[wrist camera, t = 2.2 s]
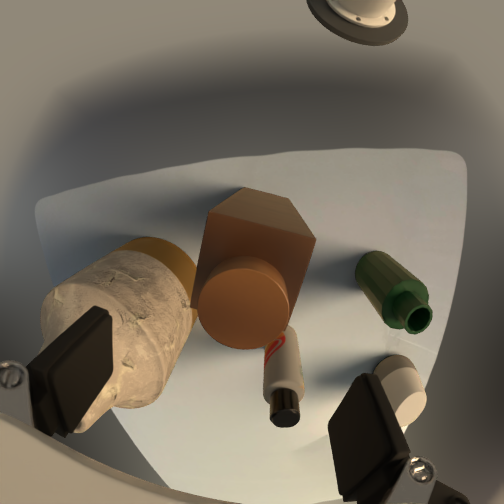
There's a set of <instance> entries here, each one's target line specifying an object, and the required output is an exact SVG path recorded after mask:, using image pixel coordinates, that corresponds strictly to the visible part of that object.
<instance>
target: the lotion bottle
mask: <svg viewBox="0 0 504 504" xmlns="http://www.w3.org/2000/svg"><path fill="white" fill-rule="evenodd" d="M304 393H305V391H304V382H303V374H302V367H301V360H300V353H299V346H298V339H297V334H296V332H295V330H294V329H293V328H292V327H290V326H288V325H287V328H286V331H285V332H284V331H283V332H282V333H281V334H280V335H279V336H278V337H277V338H276V339H275V340H274V341H272V342H271V343H269V344H267V345H265V356H264V383H263V396H264V399H265V400H266V402H267V403H269V404H270V420H271V422H272V423H273V424H274V425H275V426H277V427H281V428H284V427H292V426H294V425H296V424H297V423H298V422H299V420H300V409H299V402H300V401H301V400H302V399H303V397H304Z"/></svg>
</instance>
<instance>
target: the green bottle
mask: <svg viewBox="0 0 504 504" xmlns="http://www.w3.org/2000/svg"><path fill="white" fill-rule="evenodd" d="M355 277H356V281H357V283H358V285H359V287H360V288H361V289H362V291H363V292H364V294H365V295H366V296H367V298H368V299H369V301H370V302H371V304H372V305H373V306H374V308H375V309H376V311H377V312H378V314H379V315H380V317H381V318H382V320H383V321H384V323H385V324H387V325H388V326H389V327H390V328H394V329H403V328H405V330H406V331H407V332H408V333H409V334H418V333H420V332H423V331H424V330H425V329H426V328H427V327H428V326H429V324H430V322H431V320H432V309H431V308H430V306H429V305H428V299H429V294H428V291H427V287H426V286H425V285H424V284H423V283H422V282H421V281H420V280H419V279H418V278H416V277H415V276H414V275H413V274H411V273H410V272H409V271H408V270H407V269H405V268H404V267H403V266H402V265H400V264H399V263H398V262H397V261H395V260H394V259H393V258H392V257H390V256H389V255H388V254H386V253H384V252H381V251H373V252H370V253H368V254H366V255H365V256H363V257H362V258H361V260H360V261H359V263H358V264H357V267H356V271H355Z"/></svg>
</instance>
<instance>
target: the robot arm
mask: <svg viewBox="0 0 504 504" xmlns="http://www.w3.org/2000/svg"><path fill="white" fill-rule="evenodd" d="M326 1H327V3H328V4H329V6H330V7H331V8H332V9H333V10H334V11H335V12H336V13H337V14H338V15H339V16H341V17H342V18H344V19H346V20H347V21H349V22H351V23H354V24H356V25H359V26H363V27H369V28H378V27H383V26H385V25H387V24H389V23H390V22H391V21H392V19H393V18H394V16H395V5H394V2H395V1H396V0H326ZM112 324H113V319H112V316H111V315H109V311H108V310H106V309H104V308H101V307H99V306H96V305H94V306H92V307H91V308H90V309H89V310H88V311H87V312H85V313H84V314H83V315H82V316H81V317H80V318H79V319H77V320H76V321H75V322H74V323H73V324H72V325H71V326H70V327H68V328H67V329H66V330H65V331H64V332H63V333H61V334H60V335H59V336H58V337H57V338H56V339H55V340H54V341H53V342H52V343H51V344H49V345H48V346H47V347H46V348H45V349H44V350H43V351H42V352H41V353H40V354H39V355H38V356H37V357H36V358H35V359H33V361H31V362H30V363H29V364H28V365H27V366H26V367H25V366H24V365H22V364H21V363H19V362H17V361H11V360H10V361H4V362H1V363H0V504H240V503H233V502H227V501H222V500H216V499H211V498H206V497H202V496H197V495H193V494H189V493H185V492H181V491H177V490H174V489H170V488H167V487H164V486H160V485H157V484H154V483H151V482H148V481H145V480H142V479H139V478H136V477H133V476H131V475H128V474H126V473H123V472H121V471H118V470H116V469H113V468H111V467H109V466H107V465H104V464H102V463H100V462H98V461H95V460H93V459H91V458H89V457H87V456H85V455H83V454H81V453H79V452H77V451H75V450H73V449H71V448H69V447H67V446H66V445H64V444H62V443H60V442H58V441H56V440H54V439H53V438H51V436H52V435H53V434H54V433H57V434H59V435H60V436H62V437H64V438H65V437H66V436H67V434H68V433H73V432H74V431H75V429H76V428H77V426H78V425H79V423H80V422H81V420H82V418H83V417H84V415H85V414H86V412H87V411H88V409H89V408H90V406H91V405H92V404H93V402H94V401H95V399H96V398H97V396H98V395H99V393H100V392H101V390H102V389H103V387H104V386H105V384H106V383H107V382H108V380H109V379H110V377H111V376H112V373H113V331H112ZM328 432H329V437H330V443H331V449H332V454H333V460H334V466H335V472H336V478H337V484H338V491H339V494H340V495H343V501H344V502H351V501H357V504H470V502H469V500H468V498H467V497H466V496H465V495H463V494H462V493H460V492H458V491H456V490H454V489H452V488H450V487H448V486H446V485H445V484H443V483H441V482H439V481H437V480H436V479H437V469H436V467H435V465H434V464H433V463H432V462H431V461H430V460H429V459H427V458H425V457H422V456H415V457H412V458H410V457H409V453H410V449H409V447H408V444H407V442H406V439H405V437H404V434H403V432H402V430H401V427H400V425H399V422H398V420H397V418H396V415H395V413H394V411H393V409H392V406H391V404H390V402H389V400H388V397H387V395H386V393H385V391H384V388H383V386H382V384H381V382H380V380H379V378H378V376H377V375H376V374H368V373H362V374H361V375H360V376H357V377H356V378H355V380H354V382H353V383H352V385H351V387H350V388H349V390H348V392H347V393H346V395H345V397H344V398H343V400H342V402H341V403H340V405H339V406H338V408H337V410H336V411H335V413H334V414H333V416H332V417H331V419H330V420H329V423H328Z"/></svg>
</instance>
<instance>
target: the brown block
mask: <svg viewBox="0 0 504 504" xmlns="http://www.w3.org/2000/svg"><path fill="white" fill-rule="evenodd" d="M315 242H316V238H315V237H314V235H313V234H312V232H311V231H310V229H309V228H308V226H307V225H306V223H305V222H304V220H303V219H302V217H301V216H300V214H299V213H298V211H297V210H296V208H295V207H294V206H293V204H292V203H291V201H290V200H289V199H288V198H285V197H281V196H277V195H273V194H270V193H266V192H262V191H258V190H254V189H250V188H246V187H244V188H242V189H241V190H239V191H238V192H236V193H235V194H233V195H232V196H230V197H229V198H227V199H226V200H224V201H223V202H221V203H220V204H218V205H217V206H216V207H214V208H213V209H211V210H210V211H209V212H208V216H207V221H206V225H205V230H204V235H203V240H202V244H201V249H200V254H199V259H198V264H197V270H196V275H195V280H194V285H193V291H192V296H191V302H190V308H193V309H196V310H197V301H198V297H199V294H200V291H201V289H202V287H203V286H204V284H205V282H206V280H207V278H208V276H209V275H210V273H211V272H212V271H213V269H214V268H215V267H216V266H217V265H219V264H220V263H222V262H223V261H225V260H227V259H230V258H233V257H238V256H251V257H256V258H259V259H262V260H264V261H266V262H268V263H269V264H271V265H272V266H273V267H275V268H276V269H277V270H278V271H279V273H280V274H281V276H282V277H283V279H284V281H285V284H286V288H287V294H288V301H289V318H288V322H287V324H286V327H285V328H284V330H283V331H284V332H285V331H286V328H287V325H288V323H289V320H290V317H291V314H292V312H293V309H294V306H295V303H296V300H297V297H298V294H299V291H300V288H301V286H302V283H303V280H304V277H305V274H306V271H307V267H308V264H309V261H310V258H311V255H312V252H313V249H314V246H315Z"/></svg>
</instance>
